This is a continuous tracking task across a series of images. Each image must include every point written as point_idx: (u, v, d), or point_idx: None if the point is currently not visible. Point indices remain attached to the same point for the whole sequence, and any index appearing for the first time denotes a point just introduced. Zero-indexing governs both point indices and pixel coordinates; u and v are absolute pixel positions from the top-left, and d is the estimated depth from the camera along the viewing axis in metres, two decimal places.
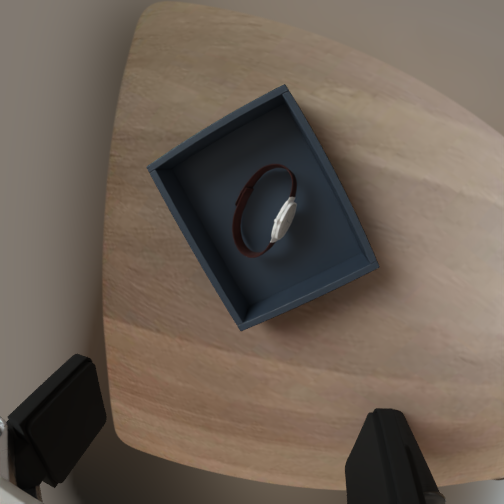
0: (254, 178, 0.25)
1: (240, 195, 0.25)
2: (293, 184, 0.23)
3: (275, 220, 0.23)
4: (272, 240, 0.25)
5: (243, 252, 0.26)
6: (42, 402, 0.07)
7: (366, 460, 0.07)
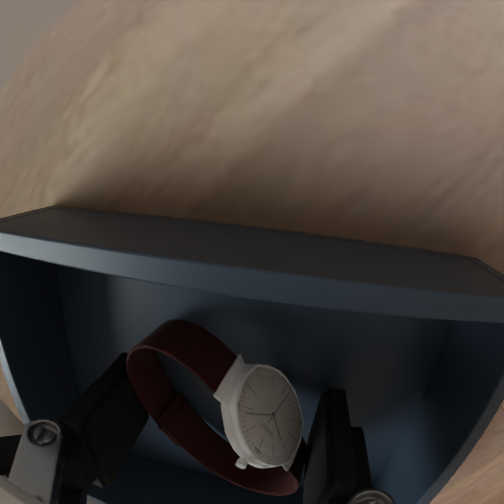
0: (149, 392, 0.10)
1: (167, 433, 0.10)
2: (191, 362, 0.08)
3: (239, 466, 0.07)
4: (287, 464, 0.08)
5: (273, 490, 0.09)
6: (98, 401, 0.07)
7: (317, 437, 0.08)
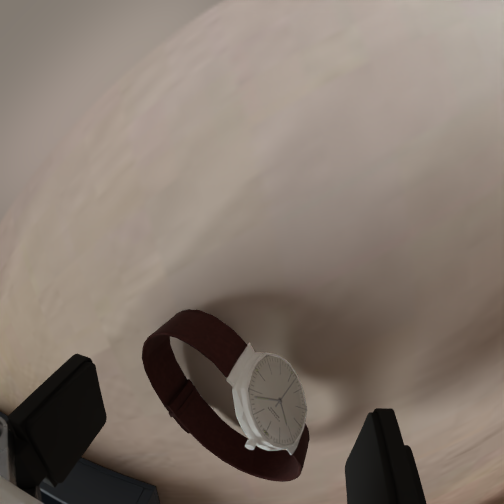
0: (161, 379, 0.10)
1: (177, 419, 0.10)
2: (206, 348, 0.09)
3: (248, 447, 0.08)
4: (291, 448, 0.09)
5: (276, 476, 0.10)
6: (42, 402, 0.07)
7: (366, 460, 0.07)
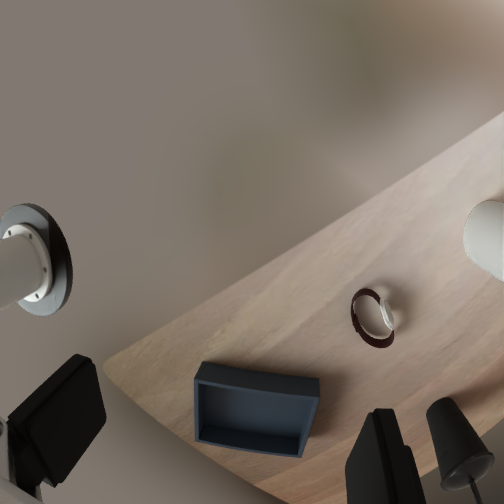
0: (352, 312, 0.34)
1: (355, 326, 0.34)
2: (375, 297, 0.32)
3: (386, 323, 0.31)
4: (392, 329, 0.33)
5: (383, 346, 0.34)
6: (42, 402, 0.07)
7: (366, 460, 0.07)
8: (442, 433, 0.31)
